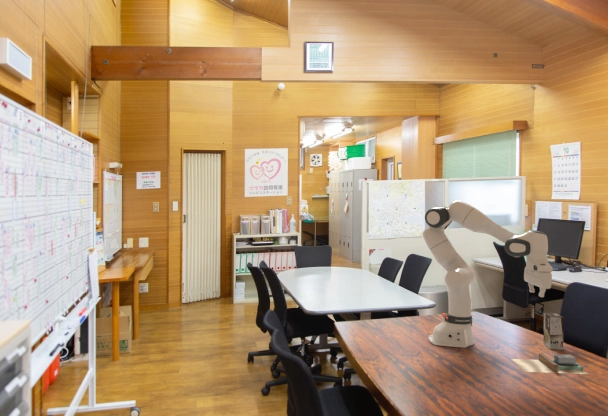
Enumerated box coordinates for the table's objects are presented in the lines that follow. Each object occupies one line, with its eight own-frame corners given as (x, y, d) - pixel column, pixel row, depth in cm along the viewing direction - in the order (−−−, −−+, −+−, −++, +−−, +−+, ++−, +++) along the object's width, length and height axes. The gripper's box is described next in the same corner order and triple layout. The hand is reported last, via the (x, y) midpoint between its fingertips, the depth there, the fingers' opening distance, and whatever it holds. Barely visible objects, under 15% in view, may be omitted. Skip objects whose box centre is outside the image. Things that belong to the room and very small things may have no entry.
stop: (575, 368, 184) (575, 358, 184) (558, 367, 185) (558, 357, 185) (570, 364, 188) (570, 354, 188) (553, 364, 189) (554, 354, 189)
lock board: (524, 373, 180) (524, 364, 180) (510, 360, 195) (510, 351, 195) (589, 376, 178) (589, 366, 178) (570, 362, 193) (570, 353, 193)
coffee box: (563, 350, 209) (564, 317, 209) (549, 349, 211) (549, 316, 210) (556, 344, 218) (557, 312, 218) (543, 343, 219) (543, 311, 219)
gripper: (520, 262, 211) (520, 289, 211) (540, 268, 190) (539, 299, 190) (533, 262, 210) (533, 290, 210) (554, 268, 190) (554, 299, 190)
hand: (536, 294), depth 200 cm, fingers open, 8 cm apart
